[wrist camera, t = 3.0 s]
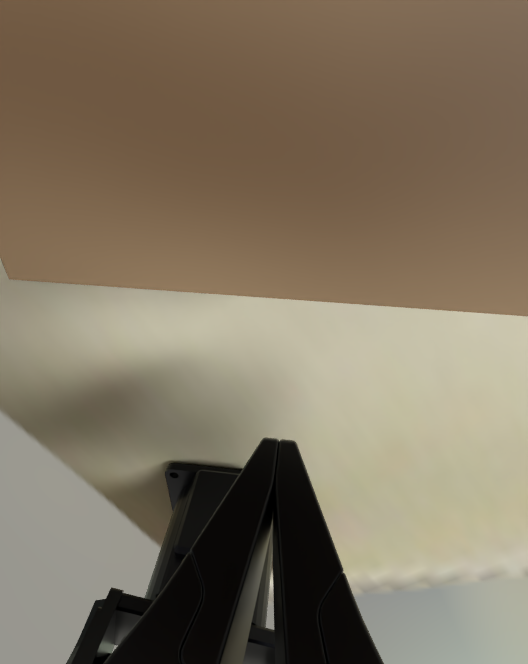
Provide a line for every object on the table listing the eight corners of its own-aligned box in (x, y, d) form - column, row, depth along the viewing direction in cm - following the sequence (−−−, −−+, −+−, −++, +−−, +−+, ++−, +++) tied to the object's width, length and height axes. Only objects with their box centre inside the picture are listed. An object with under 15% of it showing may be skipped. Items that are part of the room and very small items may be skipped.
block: (434, 181, 11) (596, 320, 5) (177, 170, 12) (8, 278, 5) (479, 7, 9) (901, -183, 3) (160, 7, 10) (-159, -142, 3)
